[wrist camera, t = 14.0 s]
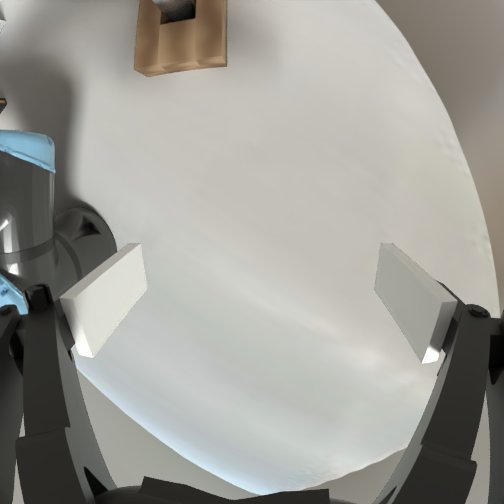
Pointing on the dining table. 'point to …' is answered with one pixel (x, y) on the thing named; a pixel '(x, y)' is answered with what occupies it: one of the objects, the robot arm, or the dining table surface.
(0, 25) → the light bulb box
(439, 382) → the robot arm
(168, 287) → the dining table surface
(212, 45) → the bore block
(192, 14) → the pin
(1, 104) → the ammunition clip
